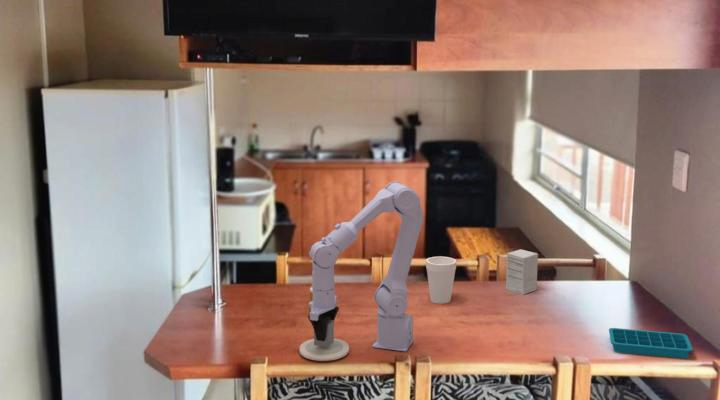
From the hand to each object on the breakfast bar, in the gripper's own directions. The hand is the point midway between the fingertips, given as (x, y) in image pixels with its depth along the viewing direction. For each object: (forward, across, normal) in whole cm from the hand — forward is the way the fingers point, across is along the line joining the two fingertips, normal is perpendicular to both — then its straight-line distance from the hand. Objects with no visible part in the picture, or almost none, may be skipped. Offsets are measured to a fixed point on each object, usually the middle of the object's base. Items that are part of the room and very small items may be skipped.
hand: (324, 337), depth 203 cm
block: (+2, 0, 0) cm, 2 cm away
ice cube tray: (+5, -30, +81) cm, 87 cm away
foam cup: (+5, -50, +20) cm, 54 cm away
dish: (+4, 0, 0) cm, 4 cm away
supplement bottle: (+5, -29, -13) cm, 32 cm away
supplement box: (+5, -68, +43) cm, 81 cm away
